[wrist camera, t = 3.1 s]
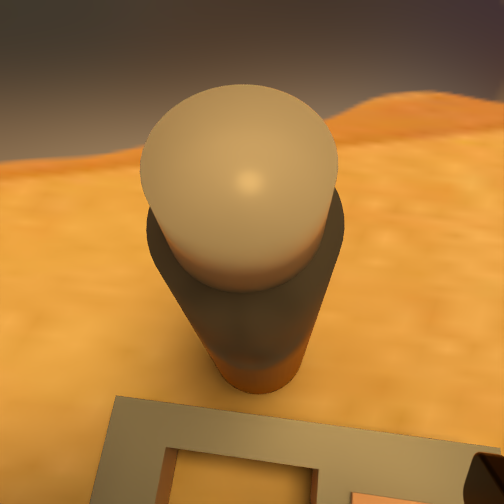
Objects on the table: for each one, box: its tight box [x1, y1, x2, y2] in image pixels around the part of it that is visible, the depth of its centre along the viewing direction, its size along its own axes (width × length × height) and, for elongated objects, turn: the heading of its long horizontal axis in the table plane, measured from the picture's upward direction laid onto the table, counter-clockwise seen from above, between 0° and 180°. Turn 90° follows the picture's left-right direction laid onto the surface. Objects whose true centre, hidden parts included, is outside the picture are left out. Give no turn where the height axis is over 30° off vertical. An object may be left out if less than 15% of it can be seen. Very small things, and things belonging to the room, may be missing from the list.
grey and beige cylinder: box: [140, 85, 344, 394], centre depth 14 cm, size 4×4×14 cm
